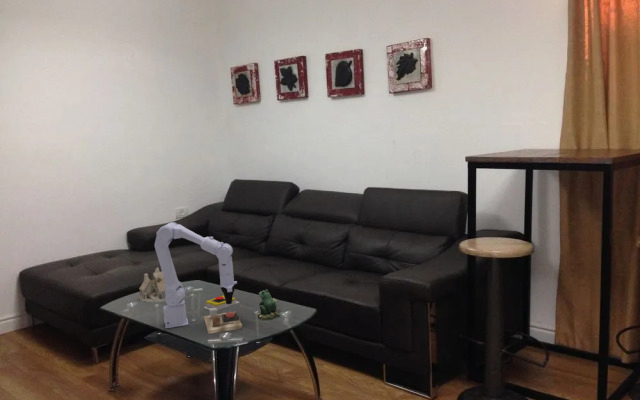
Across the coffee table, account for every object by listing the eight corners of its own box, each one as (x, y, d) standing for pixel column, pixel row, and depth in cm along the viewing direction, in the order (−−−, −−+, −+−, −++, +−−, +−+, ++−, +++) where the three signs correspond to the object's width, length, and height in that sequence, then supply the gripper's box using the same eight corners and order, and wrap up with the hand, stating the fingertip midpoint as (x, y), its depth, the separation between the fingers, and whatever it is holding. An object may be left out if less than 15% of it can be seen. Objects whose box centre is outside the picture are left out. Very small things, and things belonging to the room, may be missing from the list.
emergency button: (202, 299, 256) (227, 291, 267) (203, 308, 256) (228, 299, 267) (213, 303, 250) (239, 294, 260) (214, 312, 250) (240, 303, 261)
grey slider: (210, 318, 236) (210, 310, 235) (210, 316, 239) (209, 308, 238) (217, 317, 237) (217, 309, 236) (216, 315, 240) (216, 307, 239)
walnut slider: (213, 326, 226) (212, 318, 226) (212, 324, 229) (211, 316, 228) (220, 325, 227) (219, 317, 226) (219, 323, 230) (219, 315, 229)
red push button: (226, 320, 232) (225, 315, 232) (225, 317, 236) (224, 312, 236) (235, 318, 234) (235, 314, 233) (234, 315, 237) (233, 311, 237)
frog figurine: (273, 305, 254) (271, 281, 252) (297, 314, 240) (296, 289, 239) (241, 316, 242) (239, 291, 241) (265, 326, 229) (263, 299, 227)
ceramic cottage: (136, 297, 278) (135, 269, 275) (169, 292, 286) (168, 264, 283) (142, 307, 265) (141, 277, 262) (176, 301, 272) (175, 273, 270)
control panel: (208, 334, 223) (207, 327, 223) (204, 319, 240) (203, 313, 240) (242, 328, 227) (241, 321, 227) (235, 314, 244) (235, 308, 244)
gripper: (238, 275, 226) (241, 307, 228) (233, 267, 240) (235, 297, 242) (221, 278, 224) (224, 309, 226) (217, 269, 238) (219, 299, 240)
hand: (229, 303), depth 234 cm, fingers closed
